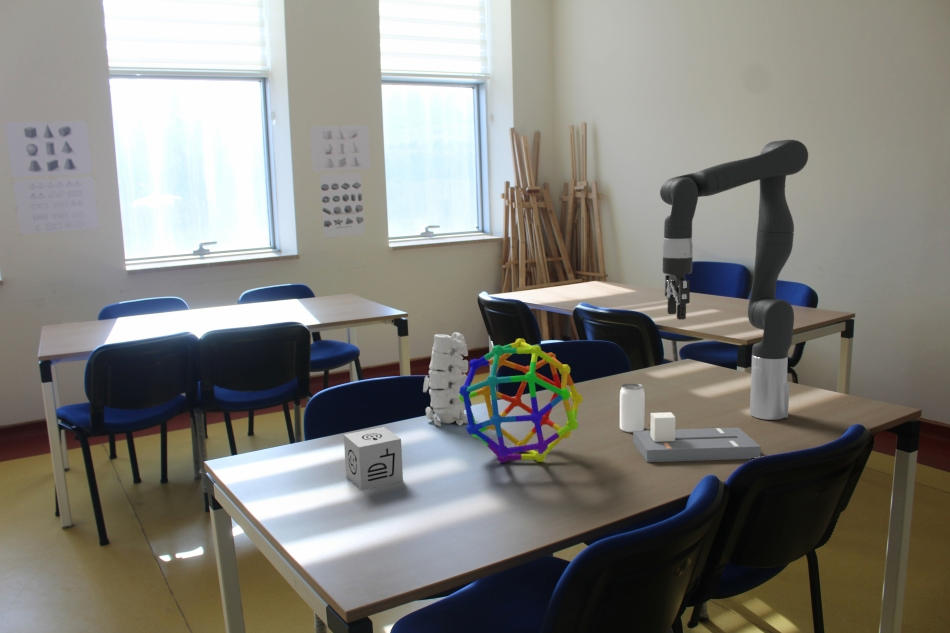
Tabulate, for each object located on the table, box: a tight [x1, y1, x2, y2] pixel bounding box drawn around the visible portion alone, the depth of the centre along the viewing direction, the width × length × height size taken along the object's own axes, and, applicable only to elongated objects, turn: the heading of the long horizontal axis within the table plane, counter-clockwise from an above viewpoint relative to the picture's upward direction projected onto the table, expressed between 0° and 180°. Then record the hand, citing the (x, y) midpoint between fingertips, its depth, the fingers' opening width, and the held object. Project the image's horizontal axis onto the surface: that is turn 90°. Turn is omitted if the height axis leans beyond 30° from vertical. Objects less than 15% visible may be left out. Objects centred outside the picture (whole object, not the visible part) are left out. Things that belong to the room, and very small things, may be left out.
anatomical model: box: [422, 331, 469, 427], centre depth 205 cm, size 11×12×25 cm
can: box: [619, 382, 646, 434], centre depth 195 cm, size 6×6×12 cm
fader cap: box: [649, 411, 677, 442], centre depth 178 cm, size 5×4×6 cm
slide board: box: [632, 427, 762, 463], centre depth 179 cm, size 27×14×3 cm, turn 91°
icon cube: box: [343, 426, 404, 491], centre depth 166 cm, size 10×10×10 cm
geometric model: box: [459, 338, 584, 464], centre depth 174 cm, size 30×30×30 cm
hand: (676, 316), depth 193 cm, fingers open, 8 cm apart
